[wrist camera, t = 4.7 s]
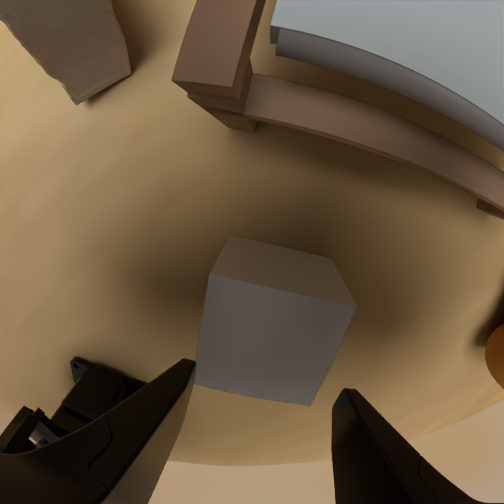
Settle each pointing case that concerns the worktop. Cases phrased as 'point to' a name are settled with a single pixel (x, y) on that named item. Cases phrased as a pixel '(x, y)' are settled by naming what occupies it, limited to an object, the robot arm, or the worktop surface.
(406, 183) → the worktop surface
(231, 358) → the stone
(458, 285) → the worktop surface
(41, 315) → the worktop surface
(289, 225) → the worktop surface
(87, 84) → the grey block
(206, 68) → the stand
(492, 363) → the ornamental finial
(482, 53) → the trapdoor
